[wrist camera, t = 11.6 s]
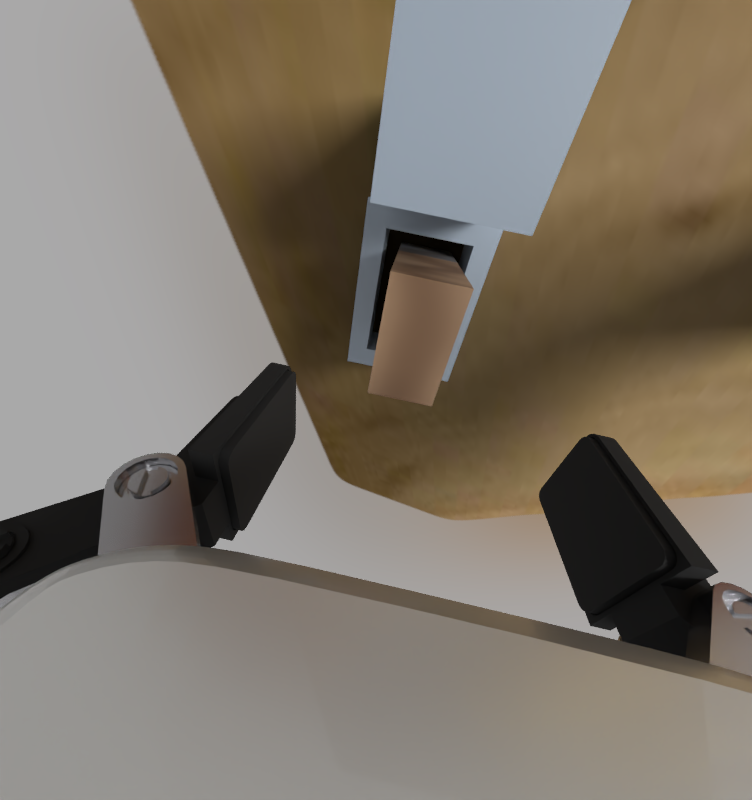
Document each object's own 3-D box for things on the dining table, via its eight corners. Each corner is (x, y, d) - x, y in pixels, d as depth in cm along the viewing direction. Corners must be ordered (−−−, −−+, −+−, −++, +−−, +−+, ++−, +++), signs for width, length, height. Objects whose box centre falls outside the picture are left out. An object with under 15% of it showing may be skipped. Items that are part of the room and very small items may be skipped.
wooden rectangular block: (450, 251, 24) (473, 289, 14) (426, 332, 28) (431, 406, 18) (401, 241, 23) (390, 271, 14) (385, 324, 28) (367, 392, 18)
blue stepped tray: (529, 113, 19) (708, -28, 7) (444, 361, 29) (461, 466, 17) (391, 84, 19) (347, -103, 7) (355, 342, 29) (314, 436, 17)
